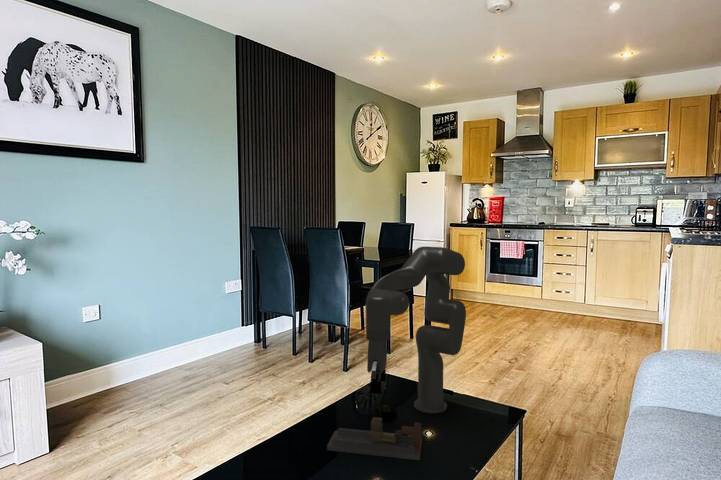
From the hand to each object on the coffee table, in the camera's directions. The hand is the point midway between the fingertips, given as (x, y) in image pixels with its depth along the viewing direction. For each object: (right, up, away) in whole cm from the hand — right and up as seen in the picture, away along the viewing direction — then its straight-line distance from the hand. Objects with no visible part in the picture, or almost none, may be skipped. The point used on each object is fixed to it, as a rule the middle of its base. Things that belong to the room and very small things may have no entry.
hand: (378, 386), depth 139 cm
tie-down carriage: (+4, -18, 0) cm, 18 cm away
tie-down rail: (-1, -20, +1) cm, 20 cm away
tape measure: (+4, -19, +22) cm, 29 cm away
